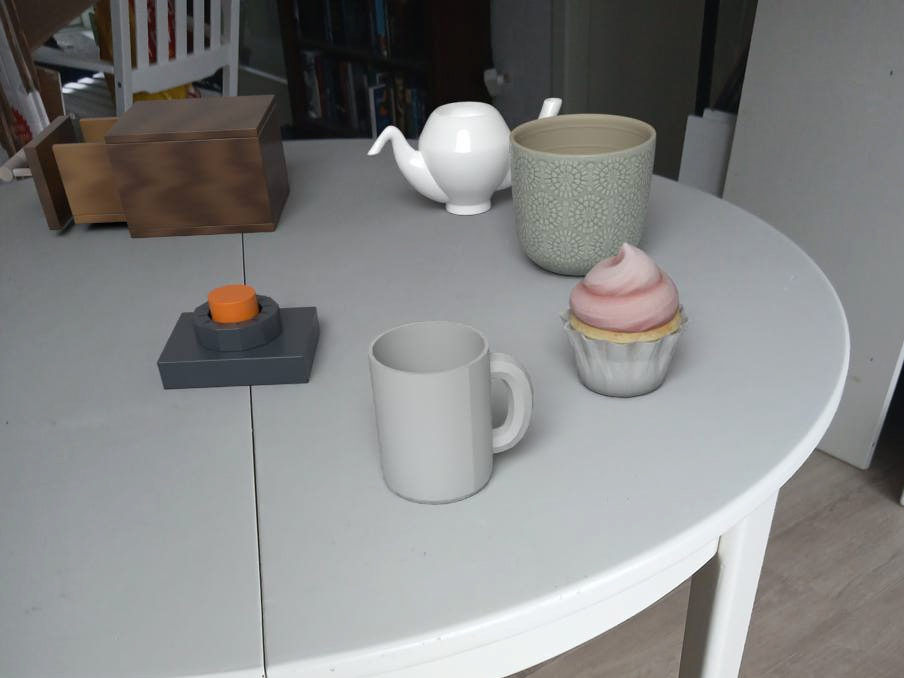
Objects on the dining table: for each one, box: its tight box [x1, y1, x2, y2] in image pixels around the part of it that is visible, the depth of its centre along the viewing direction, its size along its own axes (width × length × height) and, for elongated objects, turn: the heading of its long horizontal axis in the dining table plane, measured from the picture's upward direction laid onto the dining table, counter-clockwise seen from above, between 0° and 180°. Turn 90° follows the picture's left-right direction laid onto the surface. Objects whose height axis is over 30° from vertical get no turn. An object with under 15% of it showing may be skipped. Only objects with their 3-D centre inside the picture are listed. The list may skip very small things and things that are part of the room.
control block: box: [156, 293, 321, 390], centre depth 77 cm, size 11×9×4 cm
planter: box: [509, 113, 657, 277], centre depth 87 cm, size 12×12×11 cm
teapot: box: [366, 97, 563, 216], centre depth 99 cm, size 10×20×9 cm, turn 105°
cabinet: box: [104, 94, 291, 239], centre depth 101 cm, size 15×13×10 cm
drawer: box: [0, 114, 127, 231], centre depth 101 cm, size 18×11×8 cm, turn 91°
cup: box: [367, 320, 534, 505], centre depth 61 cm, size 7×10×9 cm
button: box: [207, 284, 259, 323], centre depth 75 cm, size 4×4×2 cm
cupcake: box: [558, 243, 692, 398], centre depth 70 cm, size 9×9×10 cm
